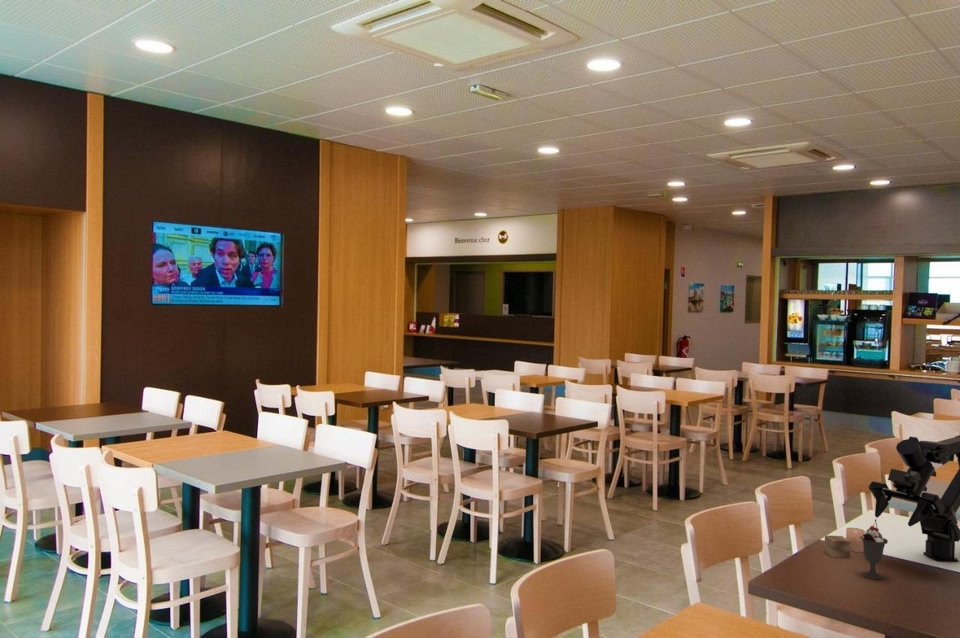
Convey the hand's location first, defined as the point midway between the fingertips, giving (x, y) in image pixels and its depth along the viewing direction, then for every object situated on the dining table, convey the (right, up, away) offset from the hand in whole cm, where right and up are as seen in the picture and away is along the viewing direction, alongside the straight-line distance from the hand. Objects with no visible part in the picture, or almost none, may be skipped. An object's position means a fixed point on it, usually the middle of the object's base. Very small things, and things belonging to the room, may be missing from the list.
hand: (892, 520), depth 200 cm
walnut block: (-9, -14, +13) cm, 21 cm away
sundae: (-8, -14, -4) cm, 16 cm away
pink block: (-1, -14, +18) cm, 23 cm away
